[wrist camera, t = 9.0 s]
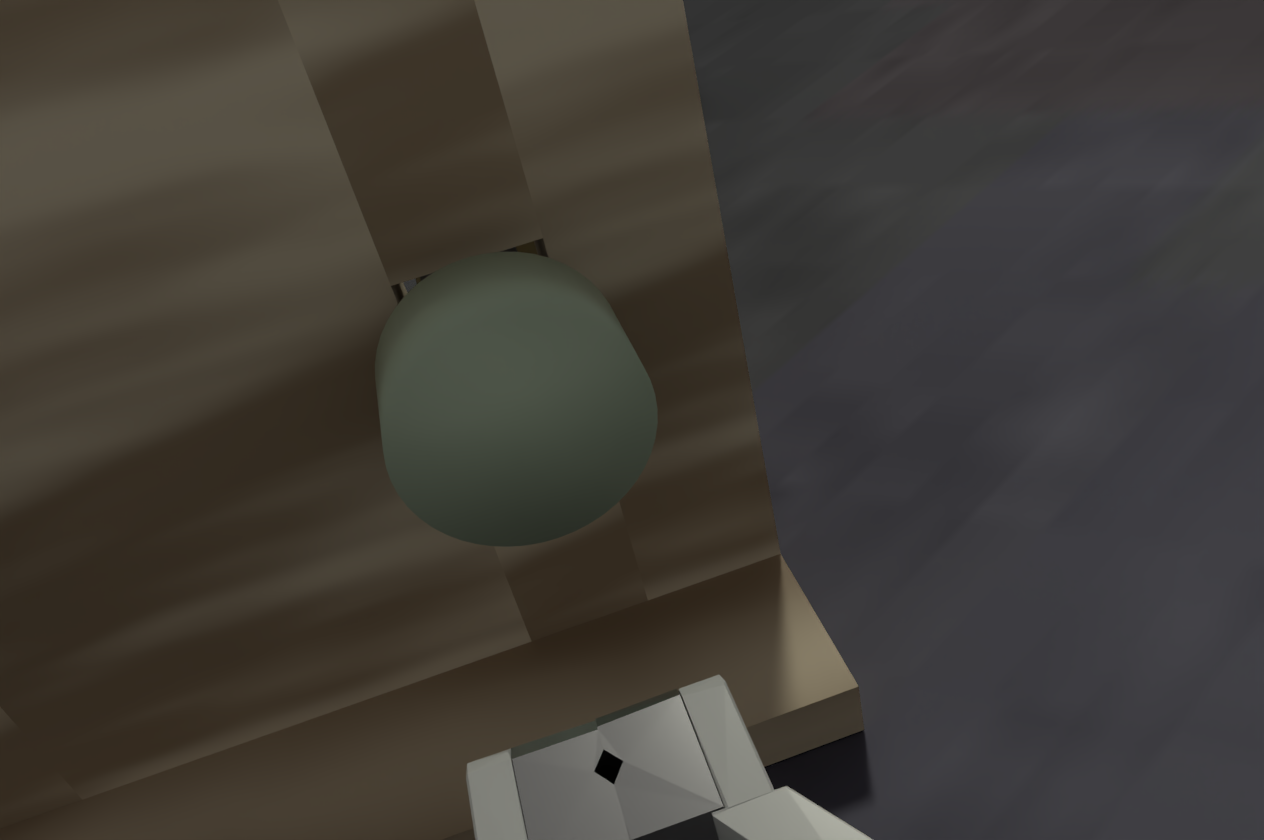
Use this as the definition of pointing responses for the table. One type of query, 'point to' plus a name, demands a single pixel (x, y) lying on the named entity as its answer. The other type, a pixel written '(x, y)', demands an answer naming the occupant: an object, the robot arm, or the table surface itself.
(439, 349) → the button sage
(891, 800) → the table surface
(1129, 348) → the table surface
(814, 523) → the table surface
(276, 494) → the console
